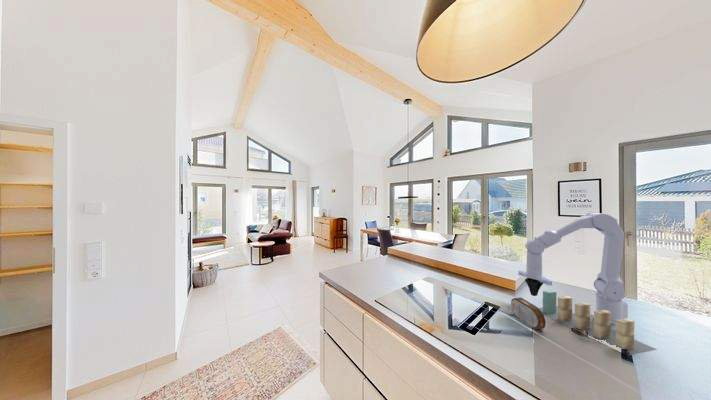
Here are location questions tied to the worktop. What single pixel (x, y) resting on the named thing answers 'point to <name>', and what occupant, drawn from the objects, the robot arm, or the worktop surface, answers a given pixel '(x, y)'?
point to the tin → (528, 313)
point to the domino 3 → (582, 315)
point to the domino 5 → (625, 333)
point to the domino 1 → (549, 301)
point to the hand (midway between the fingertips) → (534, 295)
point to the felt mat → (611, 340)
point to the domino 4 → (602, 324)
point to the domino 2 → (564, 308)
